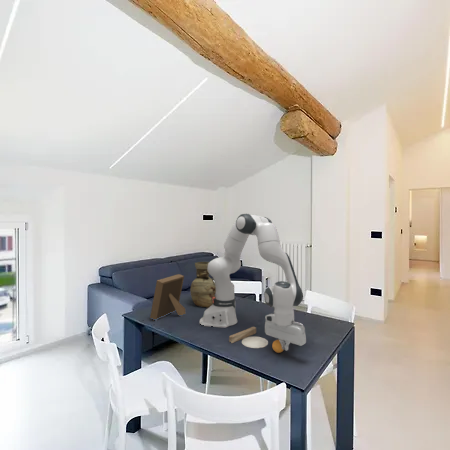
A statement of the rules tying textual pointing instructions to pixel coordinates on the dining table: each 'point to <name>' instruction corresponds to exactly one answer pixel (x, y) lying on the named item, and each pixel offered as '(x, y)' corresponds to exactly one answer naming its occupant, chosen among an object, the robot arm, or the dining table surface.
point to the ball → (277, 346)
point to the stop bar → (242, 334)
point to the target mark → (254, 342)
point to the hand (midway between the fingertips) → (285, 349)
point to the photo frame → (167, 296)
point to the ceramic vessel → (203, 286)
